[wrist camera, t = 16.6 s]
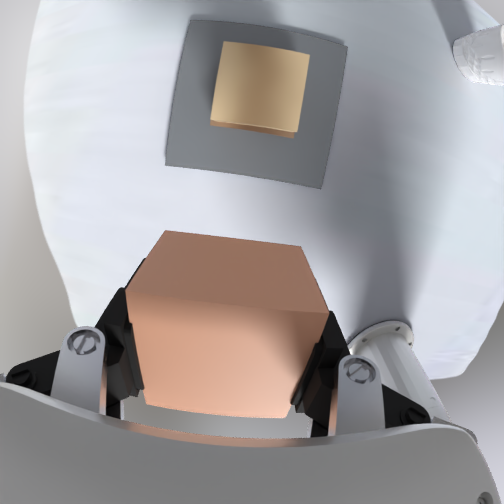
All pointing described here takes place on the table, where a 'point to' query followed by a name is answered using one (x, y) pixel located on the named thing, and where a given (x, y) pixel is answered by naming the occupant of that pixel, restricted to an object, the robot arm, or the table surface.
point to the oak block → (260, 86)
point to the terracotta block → (224, 324)
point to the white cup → (482, 55)
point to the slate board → (243, 141)
